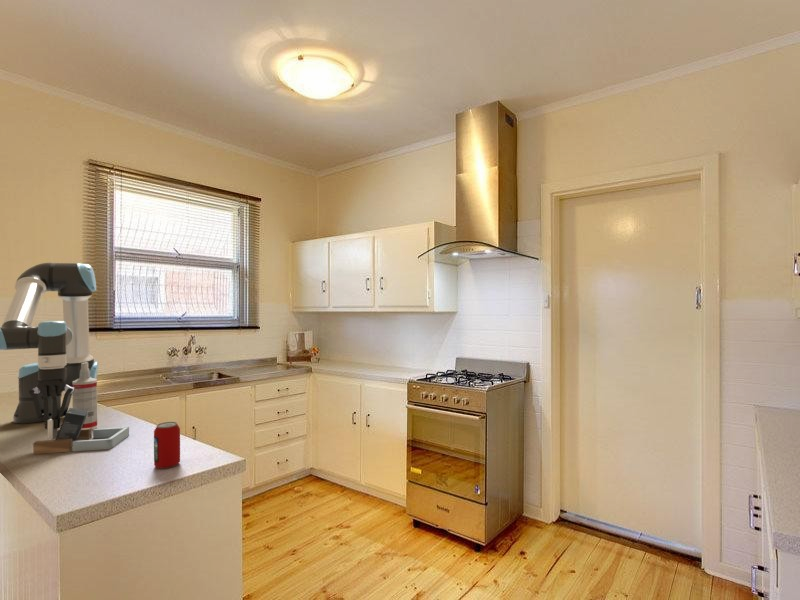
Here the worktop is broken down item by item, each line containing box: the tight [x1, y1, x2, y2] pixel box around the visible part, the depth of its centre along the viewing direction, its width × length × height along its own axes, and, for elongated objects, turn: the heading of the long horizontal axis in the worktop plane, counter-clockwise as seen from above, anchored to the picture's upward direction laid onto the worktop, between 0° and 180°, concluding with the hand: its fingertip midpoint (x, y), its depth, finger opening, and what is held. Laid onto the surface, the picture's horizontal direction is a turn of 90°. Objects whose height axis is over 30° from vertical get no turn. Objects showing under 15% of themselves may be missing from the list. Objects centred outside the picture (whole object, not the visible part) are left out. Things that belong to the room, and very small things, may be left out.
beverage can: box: [153, 421, 181, 470], centre depth 130 cm, size 7×7×12 cm
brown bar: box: [32, 428, 93, 455], centre depth 149 cm, size 15×10×4 cm, turn 11°
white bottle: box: [72, 362, 98, 431], centre depth 169 cm, size 8×8×25 cm
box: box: [54, 407, 88, 448], centre depth 150 cm, size 8×6×11 cm
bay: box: [72, 426, 130, 452], centre depth 151 cm, size 15×11×3 cm
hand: (52, 438), depth 148 cm, fingers closed
